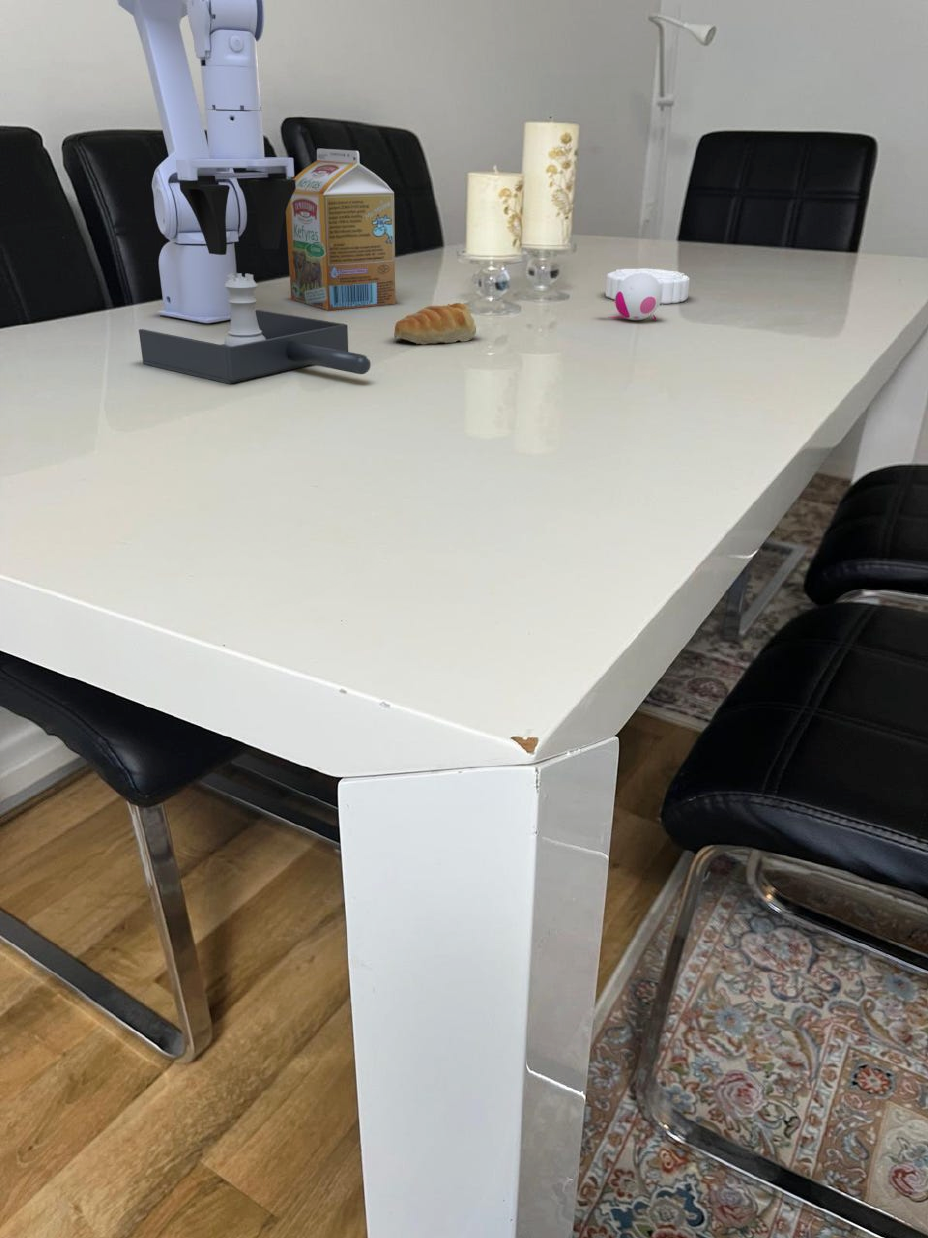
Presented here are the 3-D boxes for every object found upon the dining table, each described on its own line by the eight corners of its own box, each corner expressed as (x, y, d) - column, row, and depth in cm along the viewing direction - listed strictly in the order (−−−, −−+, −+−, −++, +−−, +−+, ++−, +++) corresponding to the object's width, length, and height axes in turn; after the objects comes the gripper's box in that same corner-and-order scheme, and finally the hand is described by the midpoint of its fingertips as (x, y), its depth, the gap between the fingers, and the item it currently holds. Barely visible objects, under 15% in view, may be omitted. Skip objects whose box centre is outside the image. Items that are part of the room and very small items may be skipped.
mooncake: (674, 291, 148) (677, 266, 146) (697, 304, 137) (700, 278, 135) (597, 290, 147) (599, 266, 145) (614, 304, 136) (617, 277, 134)
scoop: (142, 363, 98) (138, 329, 96) (260, 340, 109) (258, 309, 108) (308, 402, 85) (306, 363, 84) (421, 371, 97) (421, 336, 95)
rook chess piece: (227, 351, 101) (220, 271, 98) (270, 351, 102) (265, 272, 98) (222, 360, 98) (214, 278, 94) (266, 360, 98) (260, 278, 94)
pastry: (415, 348, 106) (415, 313, 105) (381, 339, 111) (380, 304, 109) (481, 339, 112) (481, 305, 110) (445, 330, 116) (445, 298, 115)
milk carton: (291, 299, 135) (281, 148, 126) (356, 293, 140) (351, 148, 132) (328, 310, 127) (321, 150, 119) (395, 303, 133) (393, 150, 124)
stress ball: (617, 339, 130) (592, 296, 128) (669, 305, 128) (645, 261, 126) (621, 348, 123) (595, 303, 121) (677, 313, 121) (651, 266, 119)
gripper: (203, 109, 92) (217, 260, 98) (310, 112, 102) (317, 248, 109) (156, 108, 96) (173, 253, 102) (264, 112, 106) (273, 243, 112)
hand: (244, 251), depth 106 cm, fingers open, 7 cm apart
